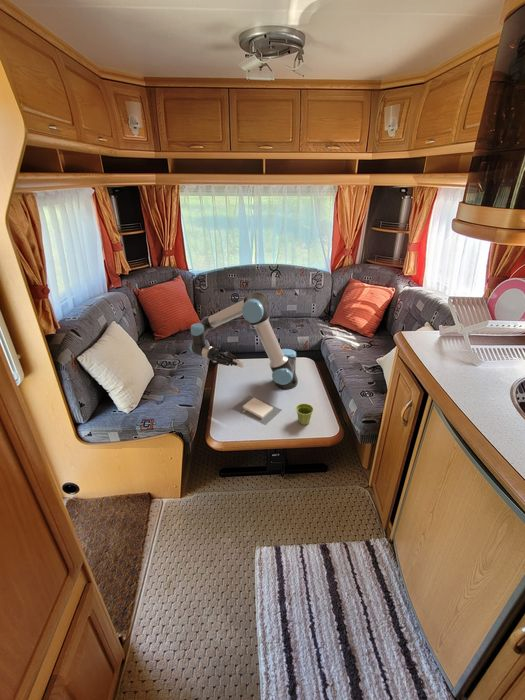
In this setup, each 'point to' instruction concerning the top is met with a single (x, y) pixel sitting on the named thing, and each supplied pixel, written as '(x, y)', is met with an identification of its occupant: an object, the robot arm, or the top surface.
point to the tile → (258, 408)
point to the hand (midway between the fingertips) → (242, 365)
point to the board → (264, 421)
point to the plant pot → (304, 413)
